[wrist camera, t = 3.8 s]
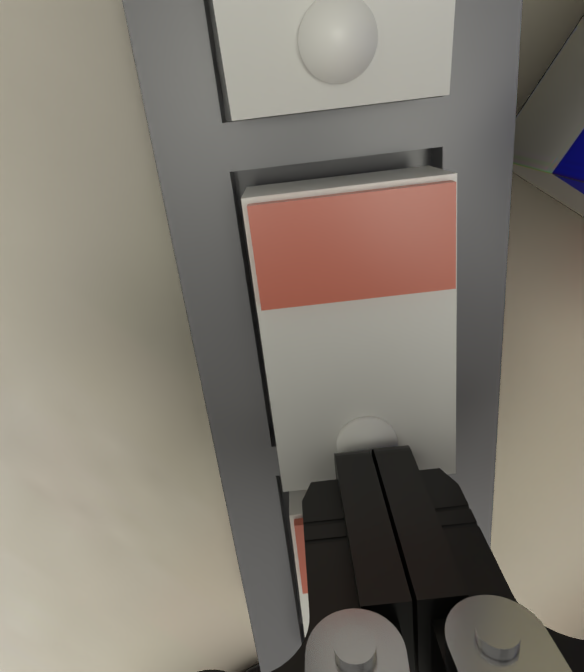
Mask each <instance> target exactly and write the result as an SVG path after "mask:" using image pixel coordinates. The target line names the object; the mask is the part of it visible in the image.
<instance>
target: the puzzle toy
mask: <svg viewBox="0 0 584 672" xmlns="http://www.w3.org/2000/svg"><path fill="white" fill-rule="evenodd" d="M512 172H514V173H515V174H517V175H518V176H520V177H521V178H523V179H525V180H526V181H528V182H529V183H531V184H532V185H534V186H536V187H537V188H539V189H540V190H542V191H543V192H545V193H547V194H548V195H550V196H551V197H553V198H554V199H556V200H557V201H559V202H561V203H562V204H564V205H565V206H567V207H568V208H570V209H572V210H573V211H575V212H576V213H578V214H579V215H581V216H583V217H584V16H583V17H582V19H581V20H580V22H579V23H578V25H577V26H576V28H575V29H574V31H573V32H572V34H571V35H570V37H569V38H568V40H567V41H566V43H565V44H564V46H563V47H562V49H561V50H560V52H559V53H558V55H557V56H556V58H555V59H554V61H553V63H552V64H551V66H550V67H549V69H548V70H547V72H546V73H545V75H544V76H543V78H542V79H541V81H540V82H539V84H538V85H537V87H536V88H535V90H534V91H533V93H532V94H531V96H530V97H529V99H528V100H527V102H526V103H525V105H524V106H523V108H522V109H521V111H520V112H519V114H518V115H517V117H516V120H515V137H514V154H513V171H512Z"/></svg>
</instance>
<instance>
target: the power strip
mask: <svg viewBox="0 0 584 672" xmlns="http://www.w3.org/2000/svg"><path fill="white" fill-rule="evenodd" d="M122 2H123V7H124V12H125V17H126V21H127V26H128V31H129V36H130V41H131V46H132V50H133V55H134V60H135V65H136V70H137V75H138V80H139V84H140V89H141V94H142V99H143V104H144V109H145V113H146V118H147V123H148V128H149V133H150V138H151V143H152V147H153V152H154V157H155V162H156V167H157V172H158V176H159V181H160V186H161V191H162V196H163V201H164V205H165V210H166V215H167V220H168V225H169V230H170V235H171V239H172V244H173V249H174V254H175V259H176V264H177V268H178V273H179V278H180V283H181V288H182V293H183V298H184V302H185V307H186V312H187V317H188V322H189V327H190V331H191V336H192V341H193V346H194V351H195V356H196V360H197V365H198V370H199V375H200V380H201V385H202V390H203V394H204V399H205V404H206V409H207V414H208V419H209V423H210V428H211V433H212V438H213V443H214V448H215V453H216V457H217V462H218V467H219V472H220V477H221V482H222V486H223V491H224V496H225V501H226V506H227V511H228V516H229V520H230V525H231V530H232V535H233V540H234V545H235V549H236V554H237V559H238V564H239V569H240V574H241V578H242V583H243V588H244V593H245V598H246V603H247V608H248V612H249V617H250V622H251V627H252V632H253V637H254V641H255V646H256V651H257V656H258V661H259V666H260V671H261V672H271V671H273V670H275V669H276V668H278V667H280V666H282V665H283V664H284V663H286V662H287V661H288V660H289V659H290V658H291V657H292V656H293V655H294V654H295V653H296V652H297V650H298V649H299V648H300V647H301V645H302V643H303V641H304V639H305V635H304V627H303V619H302V611H301V603H300V596H299V588H298V580H297V572H296V564H295V557H294V549H293V541H292V533H291V525H290V518H289V491H287V492H283V488H282V481H281V474H280V467H279V460H278V454H277V447H276V440H275V433H274V426H273V419H272V412H271V405H270V398H269V391H268V384H267V377H266V370H265V363H264V356H263V349H262V342H261V335H260V328H259V321H258V314H257V307H256V300H255V294H254V287H253V280H252V273H251V266H250V259H249V252H248V245H247V238H246V231H245V224H244V217H243V210H242V203H241V197H242V195H243V193H244V191H245V189H246V187H250V186H258V185H267V184H275V183H284V182H292V181H301V180H309V179H318V178H326V177H335V176H343V175H352V174H360V173H369V172H377V171H386V170H394V169H403V168H411V167H420V166H428V165H429V166H432V167H436V168H440V169H443V170H447V171H451V172H455V173H457V326H456V474H447V475H448V476H450V477H451V478H452V479H453V480H454V481H456V482H457V483H458V484H459V486H460V488H461V490H462V492H463V494H464V496H465V498H466V500H467V502H468V504H469V509H471V510H472V512H473V515H474V517H475V519H476V521H477V525H478V526H479V527H480V529H481V531H482V533H483V535H484V537H485V539H486V541H487V543H488V545H489V547H490V545H491V528H492V511H493V494H494V477H495V460H496V443H497V426H498V409H499V392H500V375H501V358H502V341H503V324H504V307H505V290H506V273H507V256H508V239H509V222H510V205H511V188H512V171H513V154H514V137H515V120H516V103H517V86H518V69H519V53H520V36H521V19H522V2H523V0H456V1H455V17H454V32H453V48H452V63H451V79H450V94H449V95H444V96H436V97H428V98H419V99H411V100H403V101H394V102H386V103H378V104H369V105H361V106H353V107H344V108H336V109H328V110H319V111H311V112H303V113H294V114H286V115H278V116H269V117H261V118H253V119H244V120H236V121H232V119H231V112H230V106H229V100H228V94H227V87H226V81H225V75H224V69H223V62H222V56H221V50H220V44H219V37H218V31H217V25H216V19H215V12H214V6H213V0H122Z"/></svg>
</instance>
